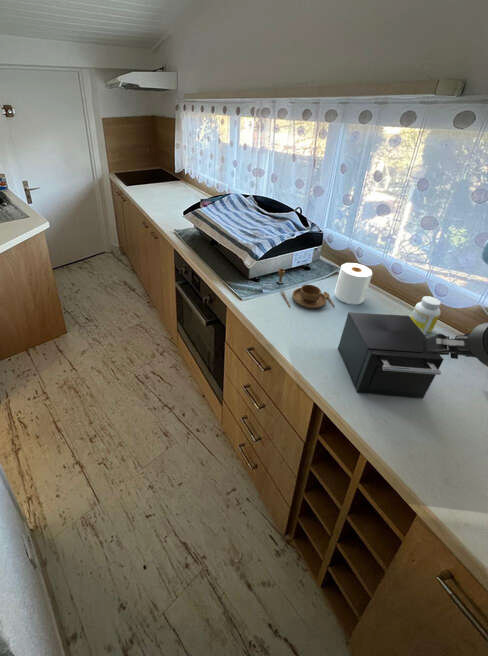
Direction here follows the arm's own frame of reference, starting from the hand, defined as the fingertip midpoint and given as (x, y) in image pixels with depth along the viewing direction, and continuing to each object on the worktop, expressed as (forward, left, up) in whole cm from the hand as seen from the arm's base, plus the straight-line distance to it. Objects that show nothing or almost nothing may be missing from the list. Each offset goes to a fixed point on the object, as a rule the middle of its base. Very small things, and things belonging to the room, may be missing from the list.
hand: (426, 347), depth 68 cm
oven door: (+2, +1, -18) cm, 19 cm away
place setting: (+47, -7, -19) cm, 51 cm away
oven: (+10, -3, -19) cm, 21 cm away
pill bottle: (+18, -30, -19) cm, 40 cm away
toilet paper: (+40, -22, -19) cm, 50 cm away
